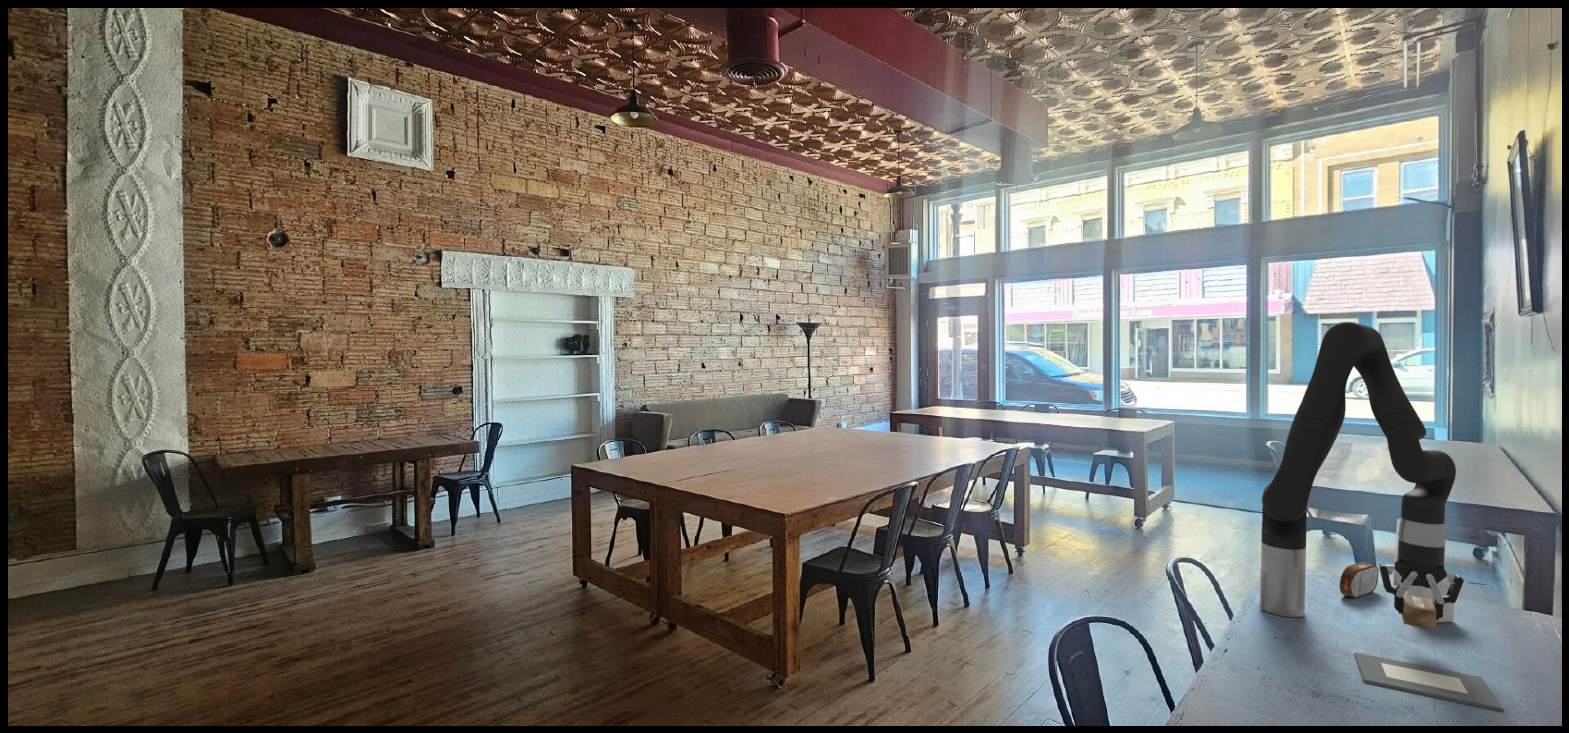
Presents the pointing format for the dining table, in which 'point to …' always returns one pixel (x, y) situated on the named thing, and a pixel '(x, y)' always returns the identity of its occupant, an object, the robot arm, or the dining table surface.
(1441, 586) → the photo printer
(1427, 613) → the card box
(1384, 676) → the mat
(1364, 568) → the tin
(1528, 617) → the dining table surface
